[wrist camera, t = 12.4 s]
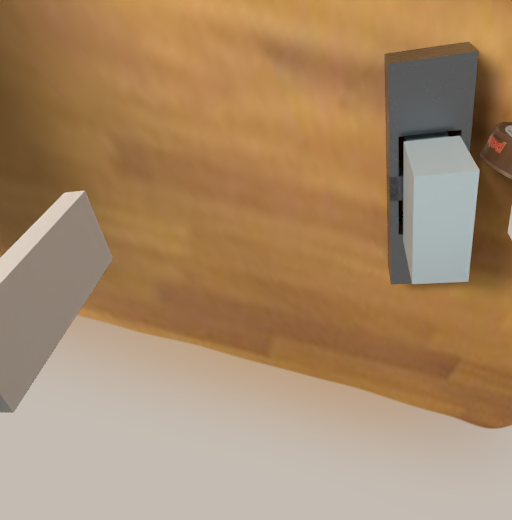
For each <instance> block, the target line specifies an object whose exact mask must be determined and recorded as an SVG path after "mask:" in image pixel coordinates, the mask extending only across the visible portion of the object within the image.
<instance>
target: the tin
mask: <svg viewBox="0 0 512 520" xmlns="http://www.w3.org/2000/svg"><path fill="white" fill-rule="evenodd" d="M479 155H480V158H481V159H482V160H483V161H484V162H485V163H486V164H487V165H488V166H490V167H491V168H493V169H494V170H496V171H497V172H499V173H501V174H503V175H504V176H506V177H508V178H510V179H512V122H503V123H499V124H498V125H496V126H495V128H494V129H493V131H492V133H491V135H490V137H489V139H488V141H487V143H486V145H485V147H484V149H483V150H481V151H480V154H479Z"/></svg>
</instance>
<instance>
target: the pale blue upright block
mask: <svg viewBox="0 0 512 520" xmlns="http://www.w3.org/2000/svg"><path fill="white" fill-rule="evenodd" d="M403 155H404V170H403V243H404V248H405V252H406V257H407V262H408V267H409V272H410V277H411V281H412V284H429V283H450V282H468V280H469V270H470V260H471V251H472V241H473V231H474V221H475V211H476V201H477V192H478V182H479V172H480V170H479V168H478V167H477V165H476V163H475V161H474V160H473V158H472V156H471V154H470V152H469V151H468V149H467V147H466V145H465V144H464V142H463V140H462V138H461V137H460V136H452V137H449V135H448V133H447V131H446V132H437V133H428V134H418V135H409V136H403Z"/></svg>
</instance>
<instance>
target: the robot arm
mask: <svg viewBox="0 0 512 520" xmlns="http://www.w3.org/2000/svg"><path fill="white" fill-rule="evenodd" d="M508 234H509V236H510V238H511V240H512V207H511V214H510V221H509V227H508ZM112 260H113V257H112V255H111V252H110V250H109V247H108V245H107V242H106V240H105V238H104V235H103V233H102V230H101V228H100V225H99V223H98V221H97V218H96V216H95V213H94V211H93V208H92V206H91V204H90V201H89V199H88V196H87V194H86V191H75V192H65V193H63V194H62V196H61V197H60V198H59V199H58V200H57V201H56V202H55V203H54V204H53V205H52V206H51V207H50V208H49V209H48V210H47V211H46V212H45V213H44V214H43V215H42V216H41V217H40V218H39V219H38V220H37V221H36V222H35V223H34V224H33V225H32V226H31V227H30V228H29V229H28V230H27V231H26V232H25V233H24V234H23V235H22V236H21V237H20V238H19V239H18V240H17V241H16V242H15V243H14V244H13V245H12V246H11V247H10V248H9V250H8V251H7V252H6V253H5V254H4V255H3V256H2V257H1V258H0V412H14V411H15V409H16V408H17V406H18V405H19V403H20V401H21V400H22V398H23V397H24V395H25V394H26V392H27V391H28V389H29V388H30V386H31V385H32V383H33V382H34V380H35V378H36V377H37V375H38V374H39V372H40V371H41V369H42V368H43V366H44V364H45V363H46V361H47V360H48V358H49V357H50V355H51V354H52V352H53V351H54V349H55V348H56V346H57V345H58V343H59V341H60V340H61V338H62V337H63V335H64V334H65V332H66V331H67V329H68V327H69V326H70V325H71V323H72V321H73V320H74V318H75V317H76V315H77V314H78V312H79V311H80V309H81V308H82V306H83V305H84V303H85V301H86V300H87V298H88V297H89V295H90V294H91V292H92V291H93V289H94V288H95V286H96V285H97V283H98V281H99V280H100V278H101V277H102V275H103V274H104V272H105V271H106V269H107V268H108V266H109V265H110V263H111V261H112Z"/></svg>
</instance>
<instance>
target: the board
mask: <svg viewBox="0 0 512 520" xmlns="http://www.w3.org/2000/svg"><path fill="white" fill-rule="evenodd" d="M478 52H479V51H478V50H477V49H476V48H475V47H474V46H473V45H472V44H470V43H469V42H465V43H458V44H451V45H444V46H437V47H430V48H423V49H416V50H409V51H402V52H396V53H389V54H385V101H386V161H387V221H388V267H389V274H390V281H391V284H407V283H412V281H411V277H410V272H409V267H408V262H407V257H406V252H405V248H404V243H403V217H399V201H400V200H403V170H404V161H399V137H400V136H409V135H418V134H428V133H437V132H446V131H453V136H460V137H461V138H462V140H463V142H464V144H465V145H466V147H467V149H468V151H469V152H470V144H471V133H472V121H473V110H474V98H475V87H476V75H477V64H478Z"/></svg>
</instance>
